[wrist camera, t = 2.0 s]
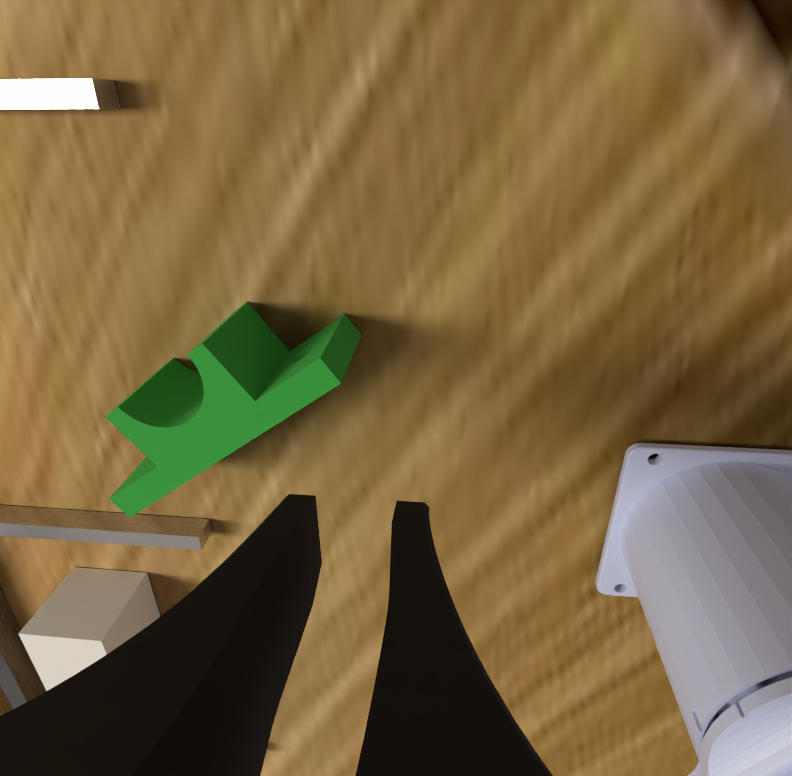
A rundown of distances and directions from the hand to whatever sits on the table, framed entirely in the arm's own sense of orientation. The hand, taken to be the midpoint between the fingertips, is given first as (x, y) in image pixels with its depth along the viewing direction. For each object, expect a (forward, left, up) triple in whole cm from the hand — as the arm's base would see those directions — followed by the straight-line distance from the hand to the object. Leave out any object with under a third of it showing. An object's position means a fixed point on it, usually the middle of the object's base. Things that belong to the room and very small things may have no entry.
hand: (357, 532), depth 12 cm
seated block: (+15, +18, -9) cm, 25 cm away
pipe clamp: (+7, +1, -10) cm, 12 cm away
